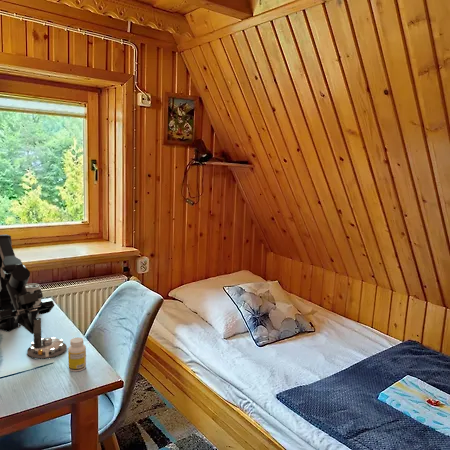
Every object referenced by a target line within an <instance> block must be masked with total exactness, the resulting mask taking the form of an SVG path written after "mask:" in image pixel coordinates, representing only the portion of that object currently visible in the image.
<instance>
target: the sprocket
mask: <svg viewBox="0 0 450 450" xmlns="http://www.w3.org/2000/svg"><path fill="white" fill-rule="evenodd" d="M33 326H34V334H33V341H32V342H31V345H30V347H31V352H34V353H37V354H38V355H42V354H45V348H49V353H51V354H53V353H55V352H56V351H58V350H62V349H63V343H64V340H63V339H62V338H61V339H60V338H56V337H54V336H53V337H43V338H42V318H40V317H36V318H35V319H33Z"/></svg>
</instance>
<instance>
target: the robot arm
mask: <svg viewBox="0 0 450 450" xmlns="http://www.w3.org/2000/svg"><path fill="white" fill-rule="evenodd" d="M30 276H31V271H30V270H29V269H28V268H27V267H26V265H24V264H23V261H22V260H21V259H20V258H18V257H17V256H16V254H15V251H14V249H13V243H12V236H11V235H10V234H7V233H5V234H0V330H1V331H4V332H11V331H13V330H15V329H17V328H20V327H21V326H22V327H23V328H24V329H26V331H28V332H29V333H30V334H31V335H34V326H33V319H35V318H37V316H38V314H39V315H44V314H48V313H50V312H51V310H52V309H53V308H54V307H55V305H56V304H55V303H54V300H52V299H47V300H41V303H40V304H39V305H38V306H34V307H33V305H35V304H36V301H39V299H40V298H41V299H42V298H43V296H44V295H43V292H42V288H41V289H38V290H35V291H34V293H30V292H27V289H26V284H28V282H29V279H30Z"/></svg>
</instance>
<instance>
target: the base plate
mask: <svg viewBox="0 0 450 450" xmlns="http://www.w3.org/2000/svg"><path fill="white" fill-rule="evenodd" d="M26 351H27V356H28V357H29V358H32V359H33V360H49V358H50V359H53V358H57V357H60V356H62V355H63V354H65V353H66V352H67V351H68V348H67V344H66V343H65V342H63V349H62V350H58V351H56V352H55V353H53V354H51V353H49V348H45V354H42V355H38V354H37V353H34V352H31V346H29V348H28V349H27V350H26Z"/></svg>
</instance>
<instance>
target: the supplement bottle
mask: <svg viewBox="0 0 450 450" xmlns="http://www.w3.org/2000/svg"><path fill="white" fill-rule="evenodd" d="M69 343H70V346H68V348H67V353H68V357H67V360H68V369H69V371H70V372H74V373H75V372H81V371H84V370H85V368H86V366H87V351H86V350H87V349H86V348H87V347H86V345H85V344H84V338H83V337H73V338H71V339H70V341H69Z"/></svg>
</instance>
